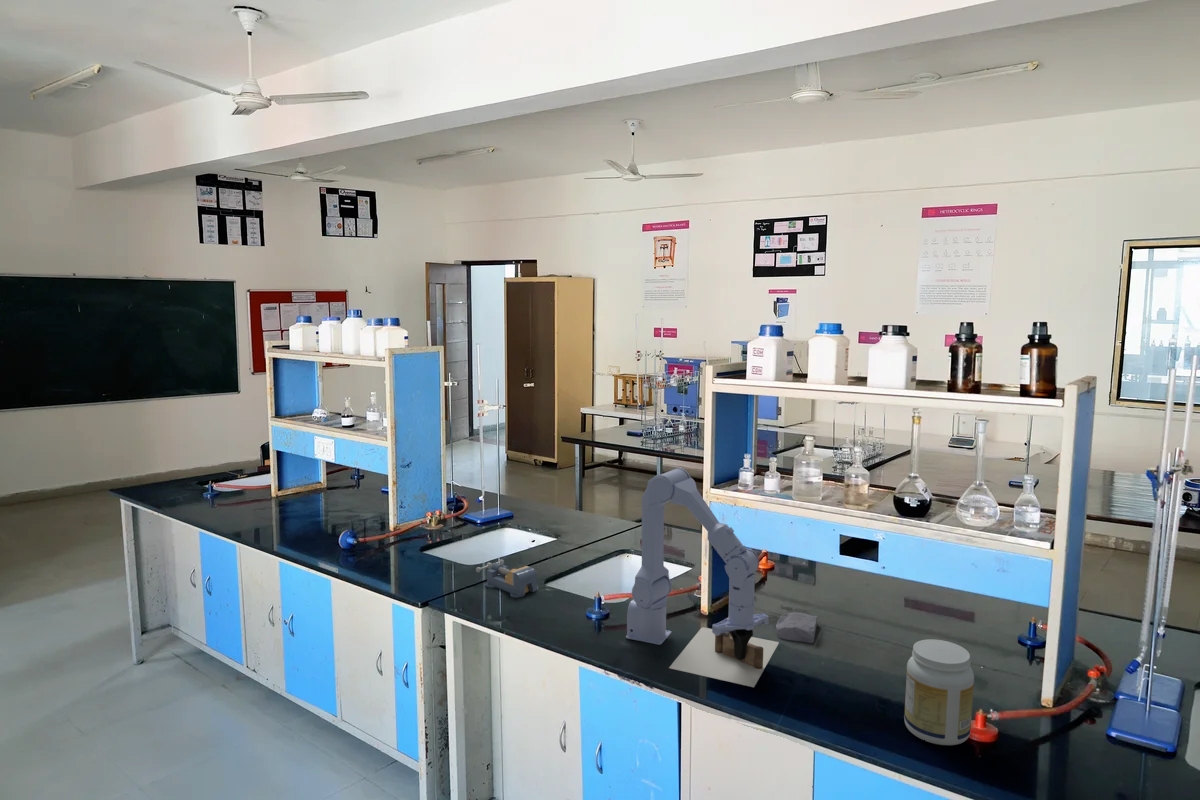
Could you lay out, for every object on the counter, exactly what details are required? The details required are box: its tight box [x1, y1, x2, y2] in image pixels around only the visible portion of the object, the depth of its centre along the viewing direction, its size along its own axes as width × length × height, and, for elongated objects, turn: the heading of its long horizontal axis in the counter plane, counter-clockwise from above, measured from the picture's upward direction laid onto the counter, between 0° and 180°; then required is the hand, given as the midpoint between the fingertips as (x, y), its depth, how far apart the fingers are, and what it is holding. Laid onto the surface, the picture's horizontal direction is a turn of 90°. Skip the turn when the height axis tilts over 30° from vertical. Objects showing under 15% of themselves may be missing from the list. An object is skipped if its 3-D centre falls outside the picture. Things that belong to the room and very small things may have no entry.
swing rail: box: [720, 632, 763, 669], centre depth 183 cm, size 13×2×5 cm, turn 45°
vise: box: [475, 559, 539, 598], centre depth 229 cm, size 18×10×7 cm, turn 48°
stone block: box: [775, 611, 818, 644], centre depth 198 cm, size 12×5×10 cm
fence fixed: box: [715, 616, 731, 653], centre depth 192 cm, size 2×12×5 cm, turn 154°
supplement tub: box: [903, 638, 975, 746], centre depth 154 cm, size 12×12×17 cm
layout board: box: [668, 627, 780, 688], centre depth 186 cm, size 20×24×1 cm
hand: (739, 657), depth 181 cm, fingers closed, pressing on swing rail
